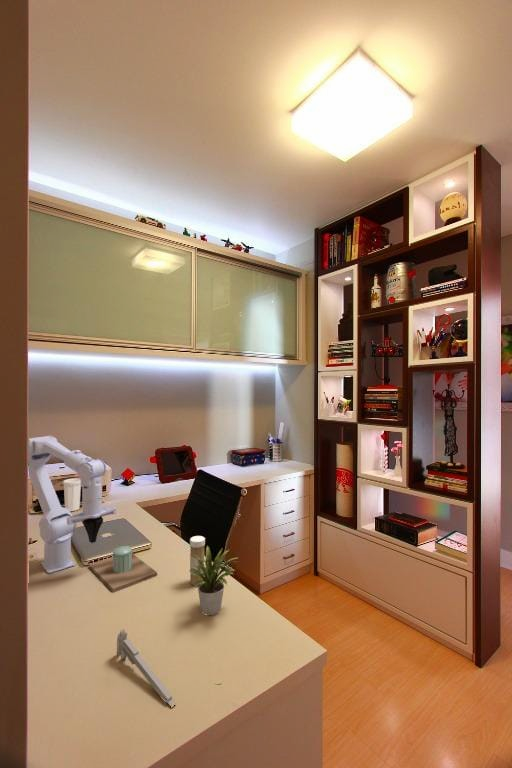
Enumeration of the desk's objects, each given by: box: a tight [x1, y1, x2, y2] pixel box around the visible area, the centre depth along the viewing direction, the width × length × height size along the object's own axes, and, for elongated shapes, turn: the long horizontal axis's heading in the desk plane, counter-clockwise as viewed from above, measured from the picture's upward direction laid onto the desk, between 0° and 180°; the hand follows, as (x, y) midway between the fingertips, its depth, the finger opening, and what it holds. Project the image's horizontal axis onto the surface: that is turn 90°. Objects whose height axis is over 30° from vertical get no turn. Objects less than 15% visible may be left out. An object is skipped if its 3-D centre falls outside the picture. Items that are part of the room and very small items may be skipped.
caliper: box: [116, 628, 176, 707], centre depth 75 cm, size 20×1×6 cm, turn 49°
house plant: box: [189, 545, 240, 616], centre depth 96 cm, size 14×14×16 cm
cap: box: [112, 545, 133, 573], centre depth 118 cm, size 6×6×6 cm
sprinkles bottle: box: [189, 535, 206, 587], centre depth 112 cm, size 5×5×14 cm
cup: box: [62, 477, 82, 512], centre depth 176 cm, size 8×8×14 cm
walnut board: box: [88, 553, 158, 593], centre depth 118 cm, size 20×14×1 cm
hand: (92, 541), depth 116 cm, fingers closed
